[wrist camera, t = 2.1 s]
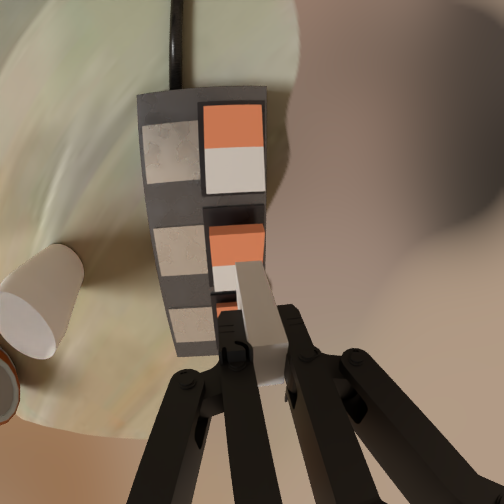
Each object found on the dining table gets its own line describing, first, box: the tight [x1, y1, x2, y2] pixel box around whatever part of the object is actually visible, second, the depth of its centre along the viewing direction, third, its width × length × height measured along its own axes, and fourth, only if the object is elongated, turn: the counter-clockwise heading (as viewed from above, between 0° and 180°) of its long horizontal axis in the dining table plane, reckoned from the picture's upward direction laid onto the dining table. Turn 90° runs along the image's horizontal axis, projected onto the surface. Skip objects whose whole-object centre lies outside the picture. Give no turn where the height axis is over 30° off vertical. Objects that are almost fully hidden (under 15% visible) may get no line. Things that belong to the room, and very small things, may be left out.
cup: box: [0, 244, 84, 359], centre depth 25 cm, size 9×9×12 cm
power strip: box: [137, 0, 267, 357], centre depth 26 cm, size 42×11×5 cm, turn 0°
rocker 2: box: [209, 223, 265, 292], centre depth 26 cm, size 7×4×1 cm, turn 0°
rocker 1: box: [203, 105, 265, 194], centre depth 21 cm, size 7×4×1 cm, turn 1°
